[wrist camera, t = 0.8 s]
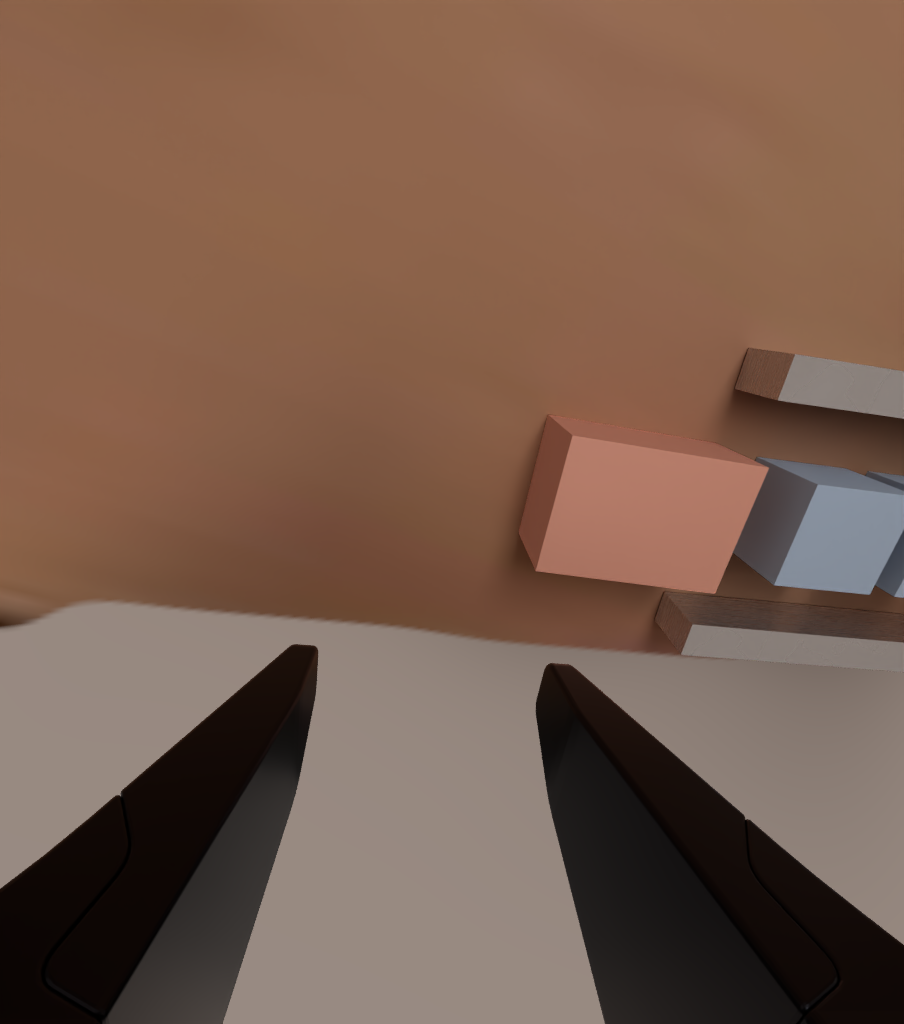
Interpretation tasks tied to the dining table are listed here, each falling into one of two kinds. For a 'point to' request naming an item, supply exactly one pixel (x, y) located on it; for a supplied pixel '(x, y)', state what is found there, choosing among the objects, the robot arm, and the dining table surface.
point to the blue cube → (821, 527)
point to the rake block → (636, 505)
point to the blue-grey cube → (900, 570)
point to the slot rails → (786, 626)
